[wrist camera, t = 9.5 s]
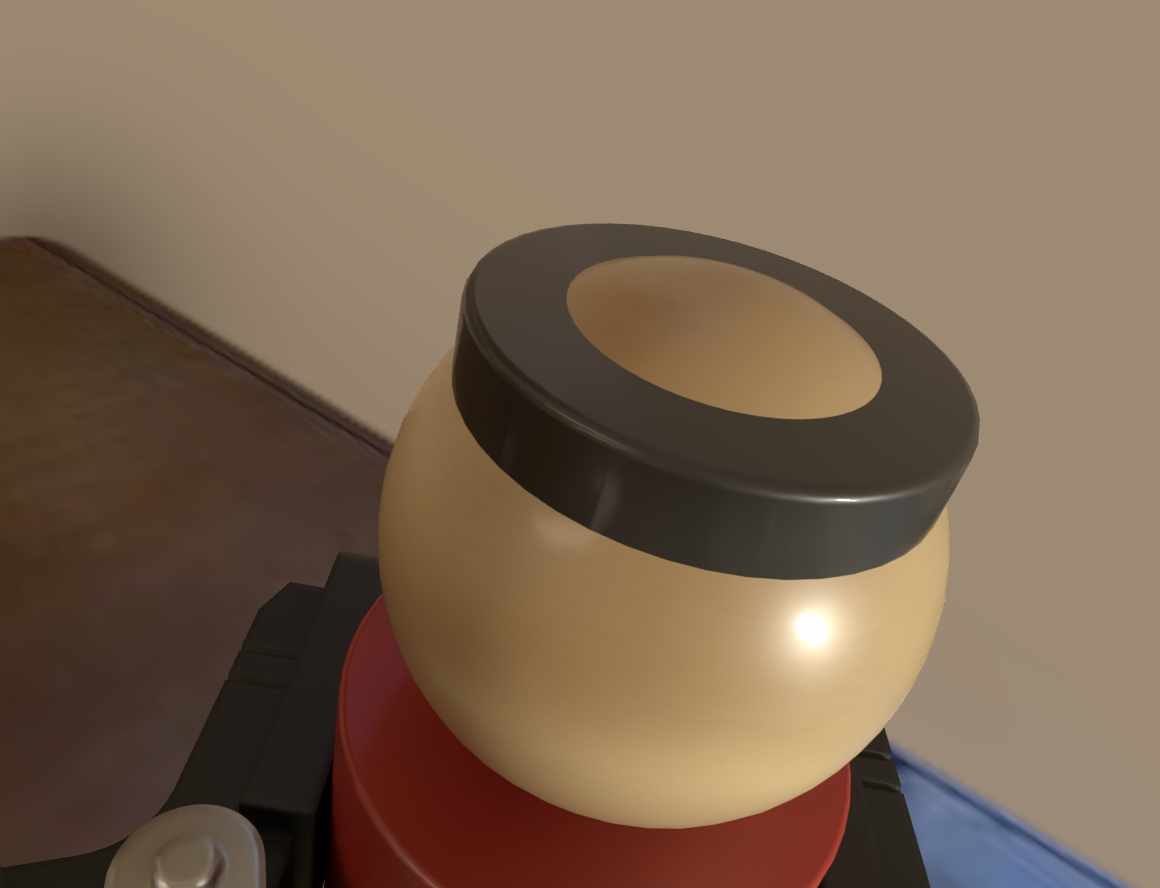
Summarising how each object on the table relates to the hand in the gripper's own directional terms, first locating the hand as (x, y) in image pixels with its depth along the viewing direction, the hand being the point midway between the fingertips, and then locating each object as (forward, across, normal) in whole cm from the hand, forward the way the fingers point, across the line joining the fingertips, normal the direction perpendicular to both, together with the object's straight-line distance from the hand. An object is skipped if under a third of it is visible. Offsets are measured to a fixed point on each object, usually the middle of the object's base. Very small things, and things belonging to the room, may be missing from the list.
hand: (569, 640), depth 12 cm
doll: (-3, 0, +8) cm, 8 cm away
